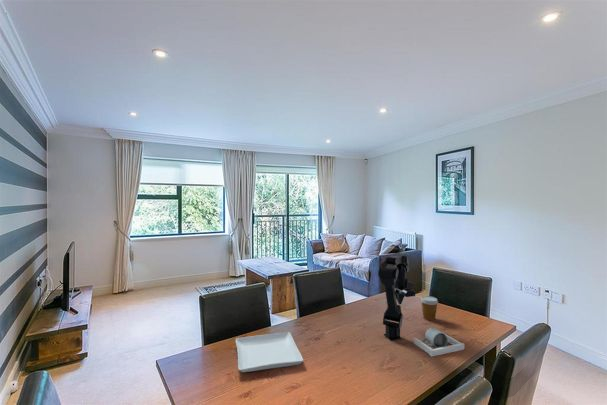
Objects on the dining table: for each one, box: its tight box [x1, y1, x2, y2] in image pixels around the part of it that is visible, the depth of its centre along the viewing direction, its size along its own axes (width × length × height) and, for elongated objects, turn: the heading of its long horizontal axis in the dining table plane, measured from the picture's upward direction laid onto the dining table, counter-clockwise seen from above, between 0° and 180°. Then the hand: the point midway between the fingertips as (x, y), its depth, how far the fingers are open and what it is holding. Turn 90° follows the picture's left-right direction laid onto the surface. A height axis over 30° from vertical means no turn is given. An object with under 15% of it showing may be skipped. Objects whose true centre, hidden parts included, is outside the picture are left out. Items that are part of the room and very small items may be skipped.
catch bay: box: [413, 333, 465, 357], centre depth 141 cm, size 19×13×2 cm, turn 109°
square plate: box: [235, 331, 304, 373], centre depth 133 cm, size 27×27×4 cm
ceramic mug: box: [421, 327, 449, 349], centre depth 142 cm, size 11×8×8 cm
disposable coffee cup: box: [420, 295, 439, 322], centre depth 173 cm, size 10×10×12 cm
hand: (399, 304), depth 163 cm, fingers closed
